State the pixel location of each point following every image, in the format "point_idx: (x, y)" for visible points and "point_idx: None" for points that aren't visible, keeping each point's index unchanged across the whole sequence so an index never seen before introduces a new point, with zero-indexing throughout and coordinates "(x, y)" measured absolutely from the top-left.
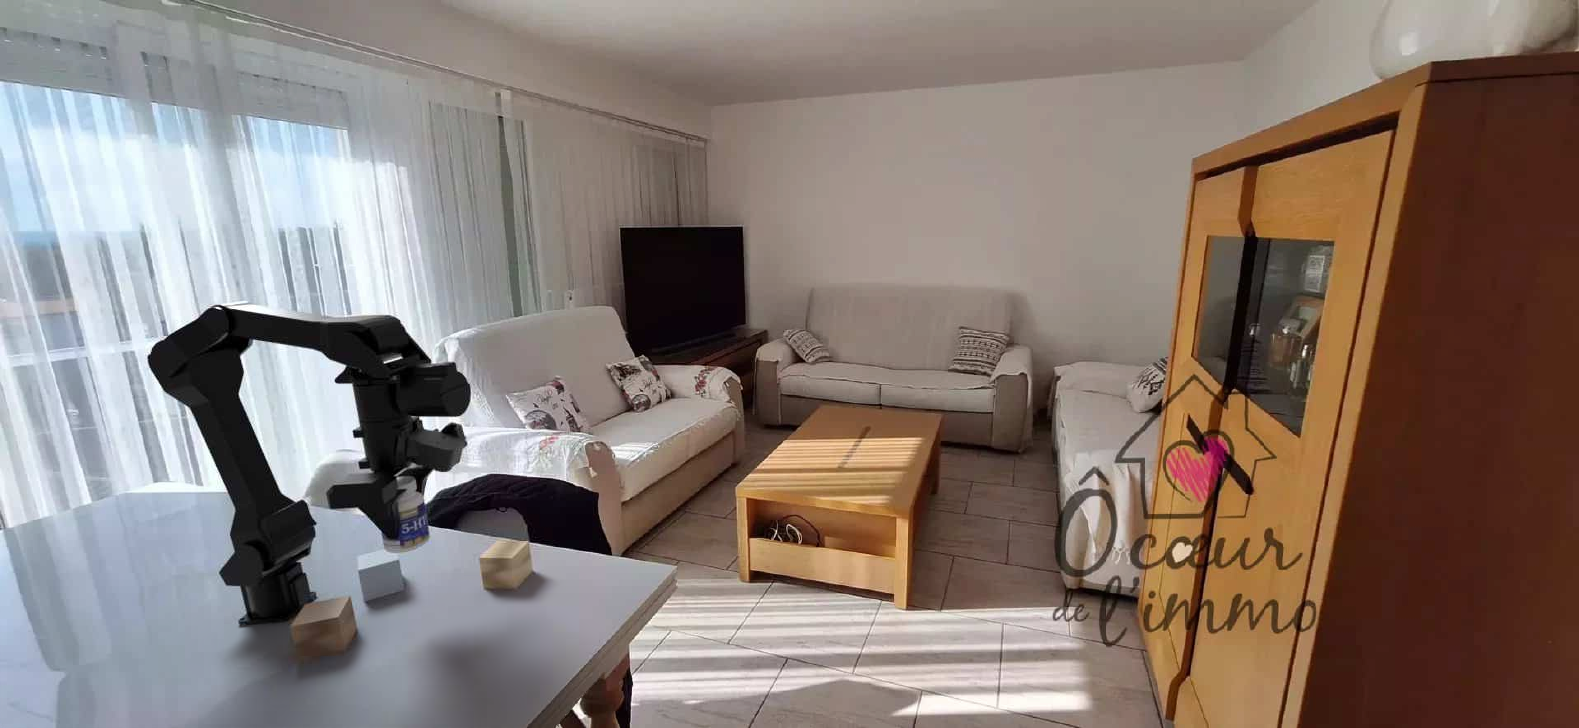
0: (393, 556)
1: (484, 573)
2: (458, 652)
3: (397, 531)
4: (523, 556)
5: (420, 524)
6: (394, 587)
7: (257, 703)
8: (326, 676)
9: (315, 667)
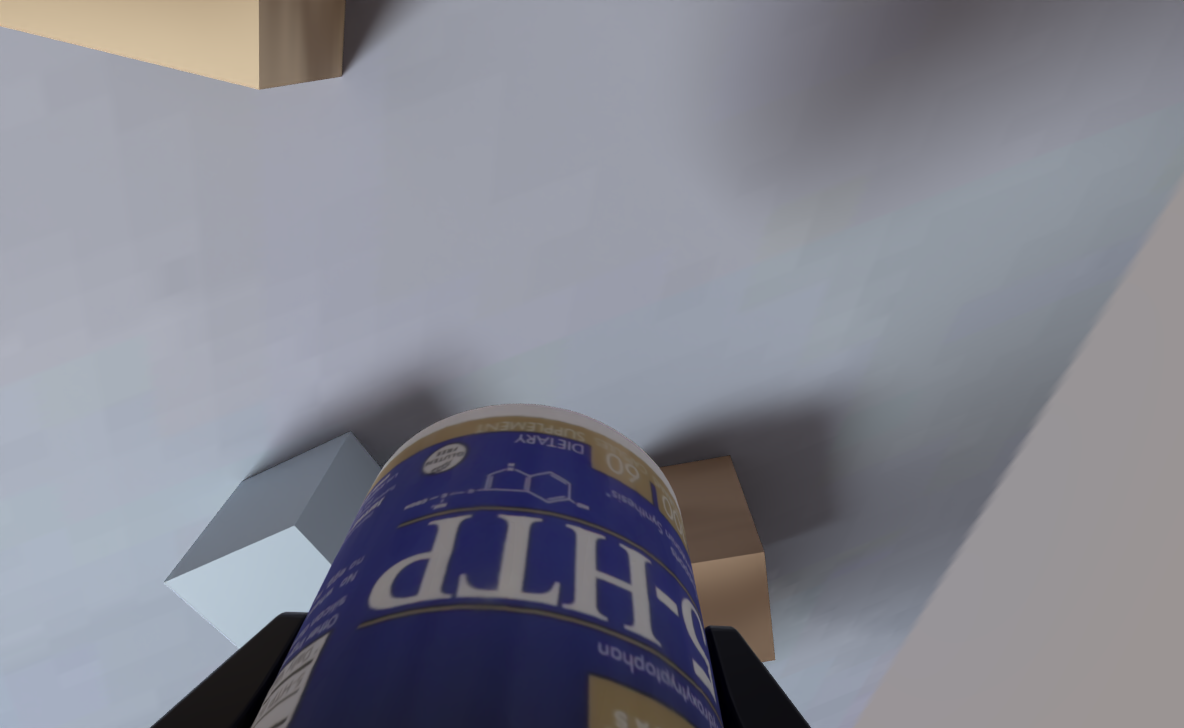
0: (268, 557)
1: (309, 59)
2: (892, 9)
3: (756, 683)
4: None
5: (583, 552)
6: (363, 467)
7: (911, 557)
8: (853, 450)
9: (790, 499)
